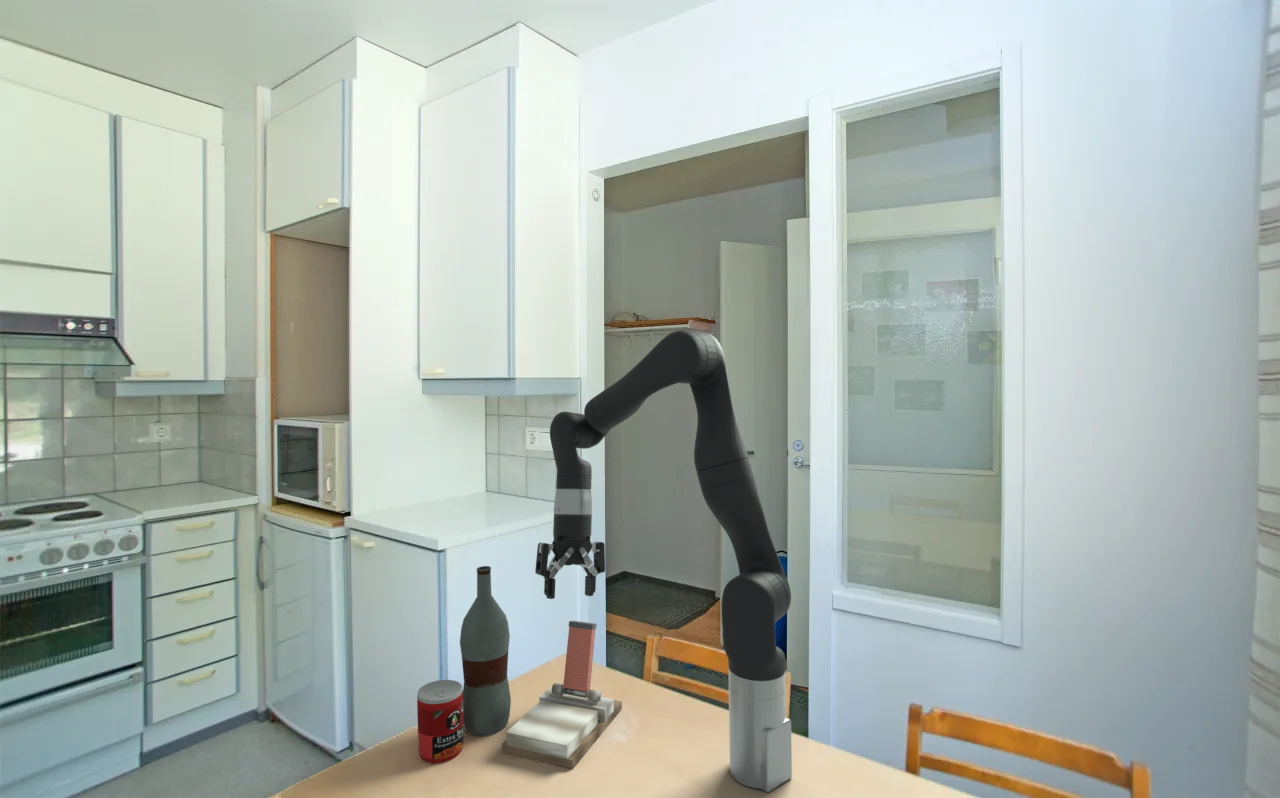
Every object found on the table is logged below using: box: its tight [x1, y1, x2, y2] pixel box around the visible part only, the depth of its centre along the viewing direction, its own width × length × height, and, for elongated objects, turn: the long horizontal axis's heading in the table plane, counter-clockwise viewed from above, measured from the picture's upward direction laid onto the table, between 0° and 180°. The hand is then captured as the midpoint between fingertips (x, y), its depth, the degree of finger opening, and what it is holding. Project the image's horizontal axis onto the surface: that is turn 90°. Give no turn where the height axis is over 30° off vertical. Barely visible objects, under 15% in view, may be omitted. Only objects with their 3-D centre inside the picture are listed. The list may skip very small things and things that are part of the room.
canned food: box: [416, 679, 465, 764], centre depth 111 cm, size 8×8×11 cm
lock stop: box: [563, 620, 597, 698], centre depth 123 cm, size 2×5×14 cm, turn 68°
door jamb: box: [501, 682, 623, 770], centre depth 117 cm, size 21×14×6 cm, turn 159°
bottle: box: [459, 565, 512, 737], centre depth 119 cm, size 9×9×30 cm
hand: (570, 597), depth 122 cm, fingers open, 8 cm apart
